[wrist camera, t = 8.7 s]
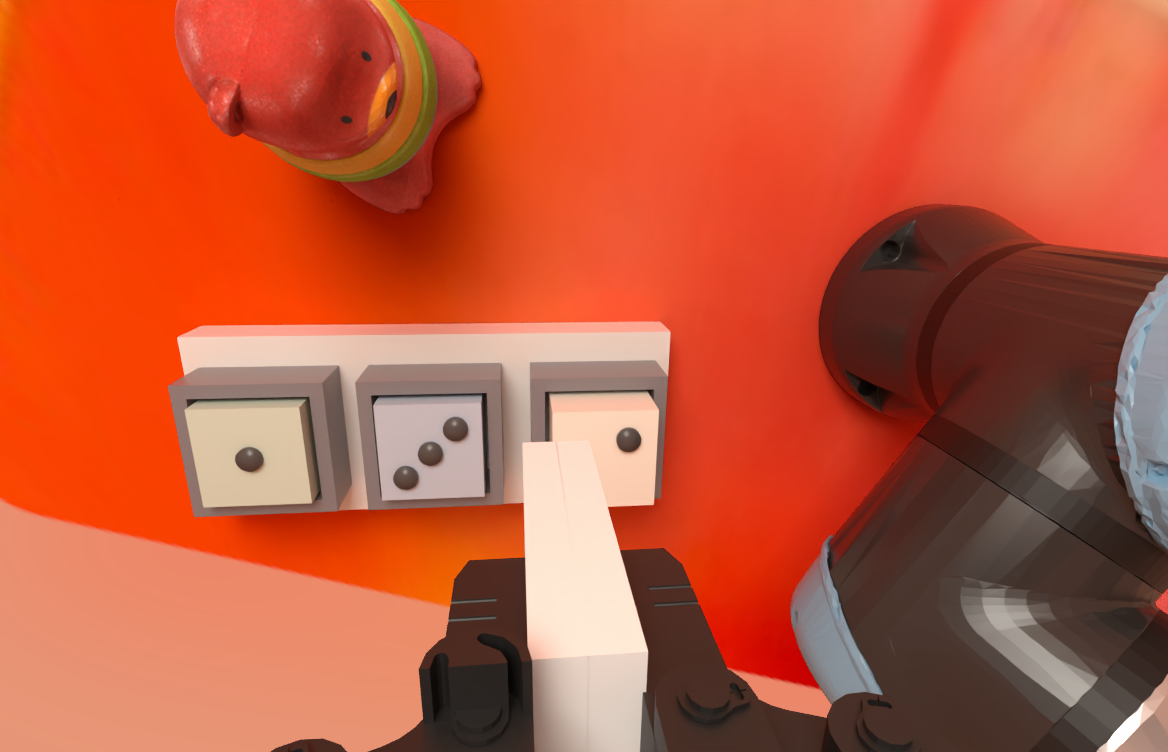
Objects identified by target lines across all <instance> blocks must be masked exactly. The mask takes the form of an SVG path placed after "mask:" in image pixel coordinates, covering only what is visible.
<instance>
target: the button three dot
mask: <svg viewBox="0 0 1168 752" xmlns="http://www.w3.org/2000/svg"><path fill="white" fill-rule="evenodd" d="M373 409H374V419H375V430H376V440H377V451H378V461H379V472H380V482H381V493H382V501H384V500H410V499H436V498H461V497H485V487H486V477H487V442H486V414H485V393H459V394H412V395H380V396H379V397H378V399H377V400H376V402H375V404H374V405H373Z"/></svg>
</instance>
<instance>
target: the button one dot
mask: <svg viewBox="0 0 1168 752" xmlns="http://www.w3.org/2000/svg"><path fill="white" fill-rule="evenodd" d="M185 416H186V421H187V426H188V431H189V436H190V441H191V446H192V451H193V457H194V462H195V467H196V472H197V477H198V482H199V487H200V492H201V497H202V503H203V508H204V507H229V506H255V505H281V504H307V503H312V502H313V501H314V499H315V498H316V496H317V494H318V493H319V491H320V490H321V485H320V477H319V469H318V461H317V454H316V446H315V438H314V430H313V422H312V415H311V407H310V399H309V397H270V398H222V399H199V400H198V401H196V402H195V403H194V404H192V405H191V406H189V407H188V408H186V409H185Z"/></svg>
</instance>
